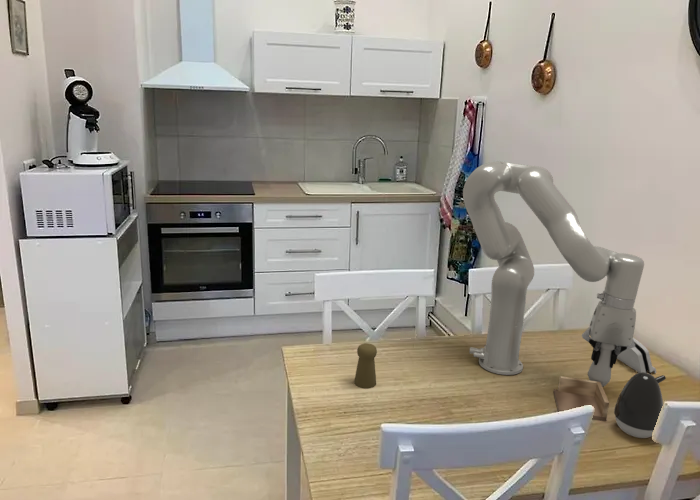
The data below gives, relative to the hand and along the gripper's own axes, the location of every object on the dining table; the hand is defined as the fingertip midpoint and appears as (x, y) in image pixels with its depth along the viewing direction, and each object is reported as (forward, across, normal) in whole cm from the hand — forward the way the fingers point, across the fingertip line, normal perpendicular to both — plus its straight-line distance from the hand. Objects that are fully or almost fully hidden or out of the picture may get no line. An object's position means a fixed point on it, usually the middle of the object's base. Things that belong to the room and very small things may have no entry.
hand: (602, 363), depth 146 cm
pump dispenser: (+8, +5, -19) cm, 21 cm away
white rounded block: (+8, +13, +22) cm, 27 cm away
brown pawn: (+11, -61, -16) cm, 64 cm away
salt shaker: (+6, 0, 0) cm, 6 cm away
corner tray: (+8, -6, -11) cm, 15 cm away
